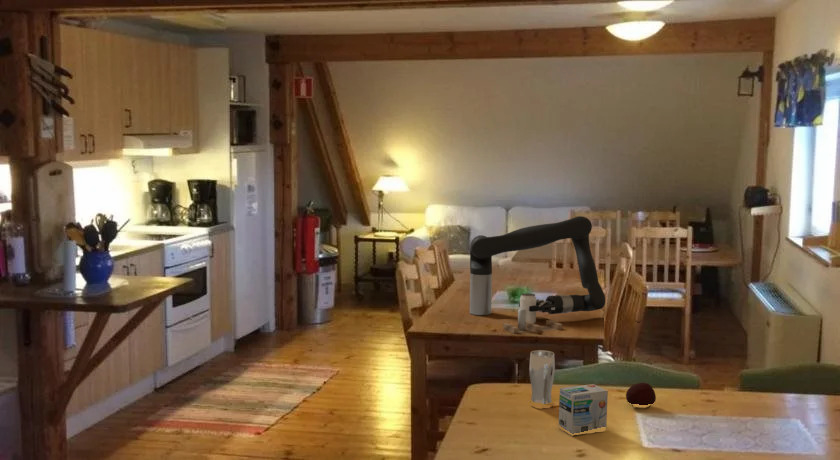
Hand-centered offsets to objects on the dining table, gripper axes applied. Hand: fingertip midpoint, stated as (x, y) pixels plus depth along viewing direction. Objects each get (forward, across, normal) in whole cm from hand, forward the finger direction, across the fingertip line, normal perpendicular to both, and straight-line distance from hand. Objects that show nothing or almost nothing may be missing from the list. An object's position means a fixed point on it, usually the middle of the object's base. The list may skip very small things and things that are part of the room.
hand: (524, 306), depth 338 cm
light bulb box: (+46, +116, +7) cm, 125 cm away
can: (-2, 0, +7) cm, 7 cm away
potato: (+22, +106, +7) cm, 108 cm away
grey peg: (+8, +13, +6) cm, 16 cm away
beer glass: (+46, +95, +7) cm, 106 cm away
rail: (+3, +13, +7) cm, 15 cm away
